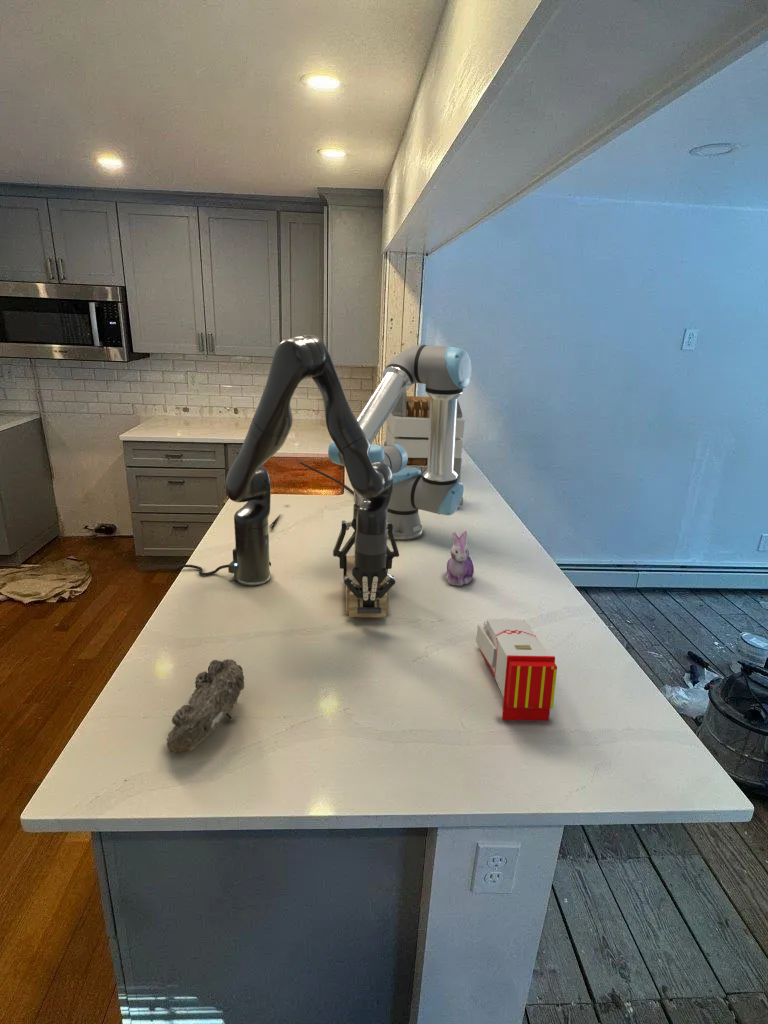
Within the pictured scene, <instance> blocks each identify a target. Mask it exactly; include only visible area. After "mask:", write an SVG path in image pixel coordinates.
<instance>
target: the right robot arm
mask: <svg viewBox="0 0 768 1024" xmlns="http://www.w3.org/2000/svg"><path fill="white" fill-rule="evenodd" d="M471 362H472V361H471V358H470V355H469V354H468V352H467V351H466V350H465V348H464V349H463V348H461V347H455V346H449V345H432V344H415V345H411V346H408V347H406V348H405V349H403V350H402V351H400V352H399V353H398V354H397V355H395V356H394V357H393V358H392V359H391V360H390V362H388V363H387V365H386V366H385V368H384V370H383V372H382V379H381V380H380V382H379V383H378V385H377V386H376V388H375V389H374V391H373V393H372V394H371V396H370V397H369V399H368V400H367V402H366V404H365V405H364V407H363V408H362V410H361V411H360V413H359V414H358V416H357V417H356V419H357V421H358V423H359V425H360V427H361V428H362V430H363V432H364V433H365V435H366V437H367V439H368V441H369V443H370V446H371V448H370V451H369V452H368V455H369V458H370V461H371V463H376V462H381V463H384V464H386V465H387V466H388V467H389V468H390V470H391V472H392V475H393V489H392V494H391V498H390V503H389V506H388V510H387V529H386V533H387V539H389V541H390V544H391V547H392V550H393V551H391V550H390V548H389V546H388V545H387V553H386V569H387V572H388V573H389V570H392V568H393V559H394V558H398V557H400V552H399V549H398V545H397V542H396V541H410V540H415V539H418V538H420V537H421V536H422V535H423V525H422V524H421V518H420V515H419V510H421V511H425V512H429V513H433V514H437V515H442V516H452V515H453V514H454V513H456V511H457V510H458V509H459V508H458V507H459V506H461V505H460V502H461V500H462V497H463V496H464V490H465V489H464V484H463V483H462V482H461V481H460V482H458V474H457V473H456V472H455V471H454V452H455V435H456V417H457V400H458V401H459V397H460V396H461V395H462V394H463V393H464V389H466V388H467V387H468V386H469V385H470V382H471V377H472V363H471ZM414 384H423V385H425V393H426V394H427V396H428V397H430V411H429V437H428V464H427V466H426V470H424V471H423V472H422V470H421V468H419V467H413V466H411V467H409V466H407V465H406V464H407V461H408V456H407V452H406V451H405V449H404V448H403V447H402V446H400V445H396V444H395V445H388V446H384V445H381V444H375V443H373V442H374V440H375V439H376V437H377V436H378V434H379V432H380V431H381V429H382V427H383V425H384V424H385V423H386V419H387V418H388V416H389V414H390V413H391V411H392V410H393V408H394V406H395V405H396V403H397V401H398V400H399V398H400V397H401V395H402V393H403V392H404V391H406V392H407V391H408V390H410V388H411V387H412V386H413V385H414ZM327 454H328V458H329V460H330V461H331V463H333V464H336V465H339V466H343V467H345V464H344V460H343V457H342V456H341V454H340V452H339V451H338V449H337V447H336V445H335V444H334V442H333V440H332V439H331V441H330V443H329V445H328V451H327ZM299 464H300V465H302V466H304V467H305V468H307V469H309V470H312V471H314V472H315V473H318V474H319V475H322V476H324V477H326V478H328V479H330V480H331V481H334V482H335V483H337V484H339V485H340V486H342V487H343V488H345V489H346V490H348V491H349V492H350V493H351V494H352V495H353V503H354V504H353V510H352V511H353V513H352V514H353V515H352V520H351V521H346V520H342V521H341V528H340V531H339V534H338V537H337V539H336V542H335V545H334V546H333V550H332V556H333V557H336V558H339V565H338V566H339V569H340V570H343V572H342V573H343V574H342V575H343V576H342V579H343V582H344V576H345V575H346V565H347V556H348V555H347V554H348V553H349V551H350V550H351V548H353V545H355V536H356V529H357V511H358V508H359V506H360V505H361V504H362V502H363V499H364V498H363V497H361V496H359V495H358V494H357V493H356V491H355V490H354V489H351V488H350V487H349V486H348V485H346V484H345V483H344V482H341V481H340V480H338V479H336V478H335V477H333V476H330V475H328V474H326V473H324V472H322V471H320V470H318V469H316V468H314V467H312V466H311V465H307V464H306V463H304V462H303V461H300V462H299ZM457 508H458V509H457ZM350 527H351V528H352V529H353V530H354V531H353V532H352V535H351V536H350V537H349V538H348V540H347V542H346V543H345V544H344V546H343V547H342V544H343V542H344V539H345V536H346V533H347V531H348V530H349V529H350ZM341 547H342V548H341Z"/></svg>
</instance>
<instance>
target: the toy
mask: <svg viewBox="0 0 768 1024" xmlns="http://www.w3.org/2000/svg"><path fill="white" fill-rule="evenodd" d="M476 629H477V631H476V638H475V642H476V645H477V646H478V648H479V650H480V652H481V654H482V656H483V658H484V660H485V661H486V664H487V666H488V668H489V669H490V671H491V672H492V675H493V676H494V679H495V681H496V685H497V686H498V688H499V690H500V692H501V695H502V697H503V701H502V712H501V720H502V721H521V722H523V721H526V722H528V721H529V722H550V712H551V709H554V702H555V692H556V681H557V673H558V665H557V664H556V656H555V655H550V654H549V652H548V651H547V650H546V648H545V647H544V645H543V644H542V642H541V641H540V639H539V638H538V637H537V635H536V634H535V632H534V631H533V629H532V627H531V625H530V624H528V623H527V621H526V619H521V618H518V619H515V618H513V619H512V618H486V620H484V621H483V626H482V625H481V624H477V628H476Z"/></svg>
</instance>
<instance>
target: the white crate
mask: <svg viewBox="0 0 768 1024" xmlns="http://www.w3.org/2000/svg"><path fill="white" fill-rule="evenodd" d="M407 394H408V393H407V391H404V392H403V393H402V395H401V397H400V398H399V400H398V401H397V403H396V405H395V406H394V408H393V410H392V411H391V413H390V414H389V416H388V418H387V419H386V421H385V423H386V428H385V438H384V442H383V446H388V445H395V444H396V445H400V446H402V447H403V448H404V449H405V451H406V452H407V456H408V461H407V464H406V467H409V466H411V467H417V466H418V467H427V464H428V437H429V411H430V396H415V395H414V396H413V395H412V396H411V395H407ZM464 429H465V419H464V418H463V411H462V408H461V405H460V402H459V399H458V400H457V417H456V435H455V452H454V471H455V472H456V473H457V474H458V482H461V472H462V461H463V460H462V453H463V442H464V441H463V440H462V439H463V438H464V431H465V430H464Z"/></svg>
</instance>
